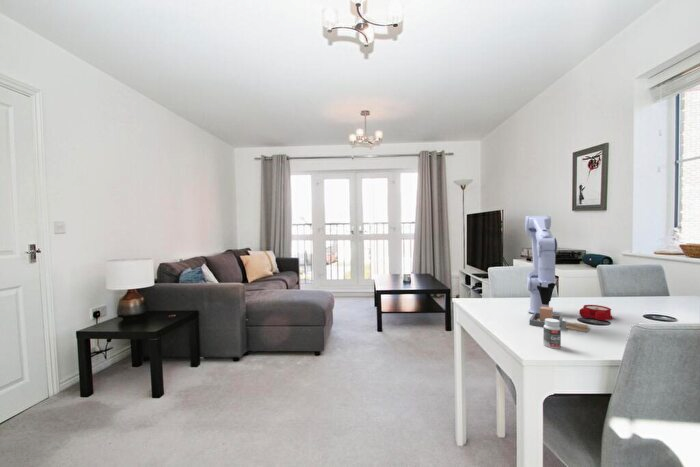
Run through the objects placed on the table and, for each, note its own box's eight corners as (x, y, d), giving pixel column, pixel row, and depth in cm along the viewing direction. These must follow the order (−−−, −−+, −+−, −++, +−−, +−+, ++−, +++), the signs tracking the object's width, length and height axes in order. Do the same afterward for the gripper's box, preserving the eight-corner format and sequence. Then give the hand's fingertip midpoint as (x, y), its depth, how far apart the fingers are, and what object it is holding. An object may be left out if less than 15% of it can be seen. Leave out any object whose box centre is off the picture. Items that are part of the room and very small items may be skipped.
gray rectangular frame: (534, 316, 136) (534, 312, 136) (562, 320, 130) (562, 315, 130) (529, 324, 126) (529, 319, 125) (560, 329, 120) (560, 324, 120)
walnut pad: (567, 323, 128) (567, 322, 128) (587, 325, 124) (587, 324, 124) (566, 329, 120) (566, 327, 120) (587, 332, 117) (587, 331, 117)
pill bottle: (552, 349, 101) (552, 322, 101) (539, 343, 106) (540, 318, 105) (564, 347, 102) (564, 321, 102) (551, 342, 107) (552, 317, 107)
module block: (541, 320, 131) (541, 306, 131) (552, 322, 128) (552, 307, 128) (539, 323, 128) (539, 308, 127) (551, 325, 125) (551, 309, 125)
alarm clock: (615, 308, 137) (607, 306, 127) (614, 323, 136) (606, 322, 126) (586, 303, 144) (576, 301, 135) (585, 317, 144) (575, 316, 134)
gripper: (537, 265, 136) (537, 297, 136) (532, 269, 124) (532, 304, 124) (557, 267, 131) (556, 300, 132) (554, 271, 120) (553, 307, 120)
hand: (546, 302), depth 128 cm, fingers open, 7 cm apart
